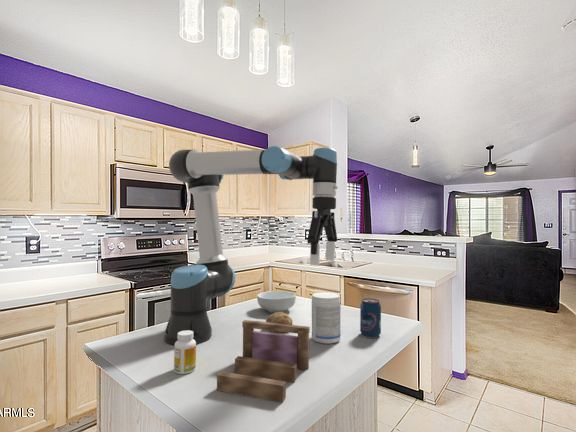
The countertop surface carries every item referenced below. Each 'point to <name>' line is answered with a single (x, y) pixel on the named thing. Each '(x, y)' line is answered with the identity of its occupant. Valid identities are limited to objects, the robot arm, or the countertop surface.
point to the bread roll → (279, 320)
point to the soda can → (370, 318)
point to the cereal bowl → (276, 300)
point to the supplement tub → (326, 317)
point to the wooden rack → (267, 361)
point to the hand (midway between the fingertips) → (322, 262)
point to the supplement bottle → (185, 353)
